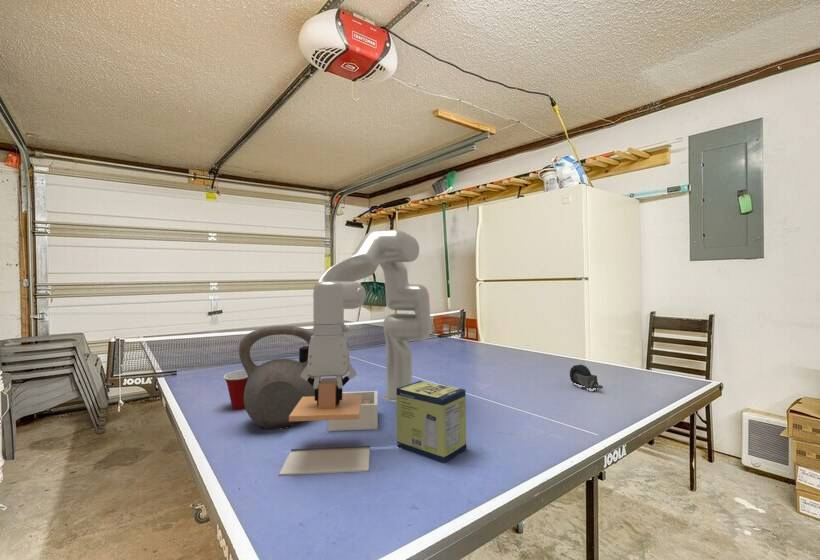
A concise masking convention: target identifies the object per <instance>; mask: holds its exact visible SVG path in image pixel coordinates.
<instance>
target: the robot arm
mask: <svg viewBox="0 0 820 560" xmlns="http://www.w3.org/2000/svg"><path fill="white" fill-rule="evenodd" d="M419 255H420V246H419V242H418V241H417V239H416V238H415V237H414V236H412V235H411V234H408V233H407V232H406V231H402V230H399V229H385V230H384V229H382V230H373V231H370V232H368V233H366V234H365V236H363V238H362V240H361V241H360V243H359V244H358V245H357V247H356V249H354V251H353V253H352V255H350V256H348V257H346V258H345V259H343V260H341V261H339V262H338V263H335V264H334V265H332V266H331V267H329V268H328V269H327V270H326V271H325V272H323V274H322V276H321V277H320V278H319V279H318V281H317V282H316V283H314V285H313V293H312V294H313V295H312V297H313V298H312V299H313V304H312V305H313V316H312V317H313V326H312V327H313V331H312V332H313V336H311V339H310V344H308V346H309V352H308V364H307V366H306V367H305V369H304V370H303V372H302V373H301V375H300V377H301V378H303V379H305V380H306V381H308V382H309V383H310V384H311V385H312V386H313V388H314V389H315V401H317V405H318V384H319V383H320V381H321V380H322V378H326V377H336V379H337V388H336V404H337V405H339V402H340V400H342V392H343V387H344V386H345V385H346V384H347V383H348V382H349V381H350V380H352V379H353V378H355V377H356V376H357V372H356V370H355V368H354V367H353V365H352V364H351V362H350V349H349V348H350V347H349V339H348V335H347V334H345V332H349V331H350V325H347V324H345V323H344V322H345V321H344V320H345V318H344V317H345V316H344V315H345V313H344V311H345V310H356V309H359V308H361V307H362V306H363V305H364V304H365V301H366V299H367V298H366V297H367V291H366V289H365V287H364V286H363V285H362V284H361V283H359V282H357V281H360V280H363V279H365V278H368V277H369V278H370V276H372V275H374V274H375V272H376V270H377V269H378V267H379V266H380V267H381V269H382V272H383V277H384V291H385V303H386V306H387V307H388V309H390V310H392V311H404V312H405V311H410V312H411V311H412V312H414V313H391V314H388V315H387V316H385V318H384V319H383V333H384V338H385V339H384V340H385V350H386V351H385V355H386V357H385V364H386V368H385V369H386V370H385V371H386V377H385V378H386V381H385V382H386V384H385V385H386V393H383V395H381V397H382V400H385V401H387V402H393V403H394V402H395V403H397V389H396V388H399V387H403V386H406V385H409V384H412V383H413V353H412V352H413V351H412V348H411V345H410V344H409V343H408V341H425V340H428V338H429V337H430V334H431V331H432V330H431V327H432V326H431V307H430V294H429V291H428V289H427V287H426V286H425V285H423V284H418V283H417V284H410V283H409V279H408V278H409V277H408V270H407V269H408V268H406V266H405V264H404V263H412V262H415V261H416V260H417V259H418V257H419ZM312 376H314V377H315V379H314V378H313V377H312Z"/></svg>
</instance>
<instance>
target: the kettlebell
mask: <svg viewBox="0 0 820 560" xmlns="http://www.w3.org/2000/svg"><path fill="white" fill-rule="evenodd" d="M280 335H283V336H284V335H286V336H295V337H298V338H300V339H302V340H304V341H305V342H306V343H307V344H308V345H309V344H310V339H311V336H313V331H311V330H309V329H307V328H304V327H300V326H291V325H275V326H265V327H262V328H258V329H255V330H253V331H251V332H249V333H247V334H246V335H244V336H243V338H242V339H241V341H240V343H239V346H238V347H239V348H238V353H239V355H238V356H239V359H240V362H241V366H242V367H243V368H244V369H243V370H245V371H246V373H247V375H248V380H247V383H246V386H245V391H244V404H245V408H244V409H245V411H246V413H247V415H248V417H249V418H250V419H251V421H252V422H253V423H255V424H257V425H258V426H259V427H262V428H264V429H266V428H268V429H267V430H281V429H280V428H283V429H286V427H288V428H291V427H292V426H293V425H295V424H298V423H300V422H301V421H289V415H290V414H291V412H292V411H293V410H294V408H295V407H296V405H297V404H298V402H299V401H300V400H301V398H302V397H309V396H315V389H314V388H313V386H312V385H311V384H310V383H309V382H308V381H306V380H305V379H303V378H301V377H300V375H301V373H302V372H303V370H304V369H305V367H306V366H307V364H308V359H307V361H306V362H304V363H300V362H299V360H295V359H291V358H276V359H275V358H274V359H271V360H268V361H266V362H263V363H261V364H260V365H259V364H258V365H257V364H255V362H254V361H253V360H252V358H251V354H250V353H251V348H252V346H253V345H254V344H255V343H256V342H258V341H259V340H261V339H264V338H267V337H269V336H271V337H272V336H280ZM312 377H313V376H312Z"/></svg>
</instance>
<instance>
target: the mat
mask: <svg viewBox="0 0 820 560" xmlns="http://www.w3.org/2000/svg"><path fill="white" fill-rule="evenodd" d="M370 447H371V446H370V445H364V446H341V447H339V446H337V447H318V448H317V447H316V448H296V449H295V448H292V449H290V451H289V454H288V456H287V458H286V460H285V462H284V463H283V465H282V468H281V470H280V472H279V473H278V474H279V475H278V477H279V476H280V477H281V476H297V475H298V476H299V475H319V474H320V475H322V474H340V473H341V474H342V473H359V472H360V473H363V472H369V469H370V453H371V452H370V451H371V448H370Z"/></svg>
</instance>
